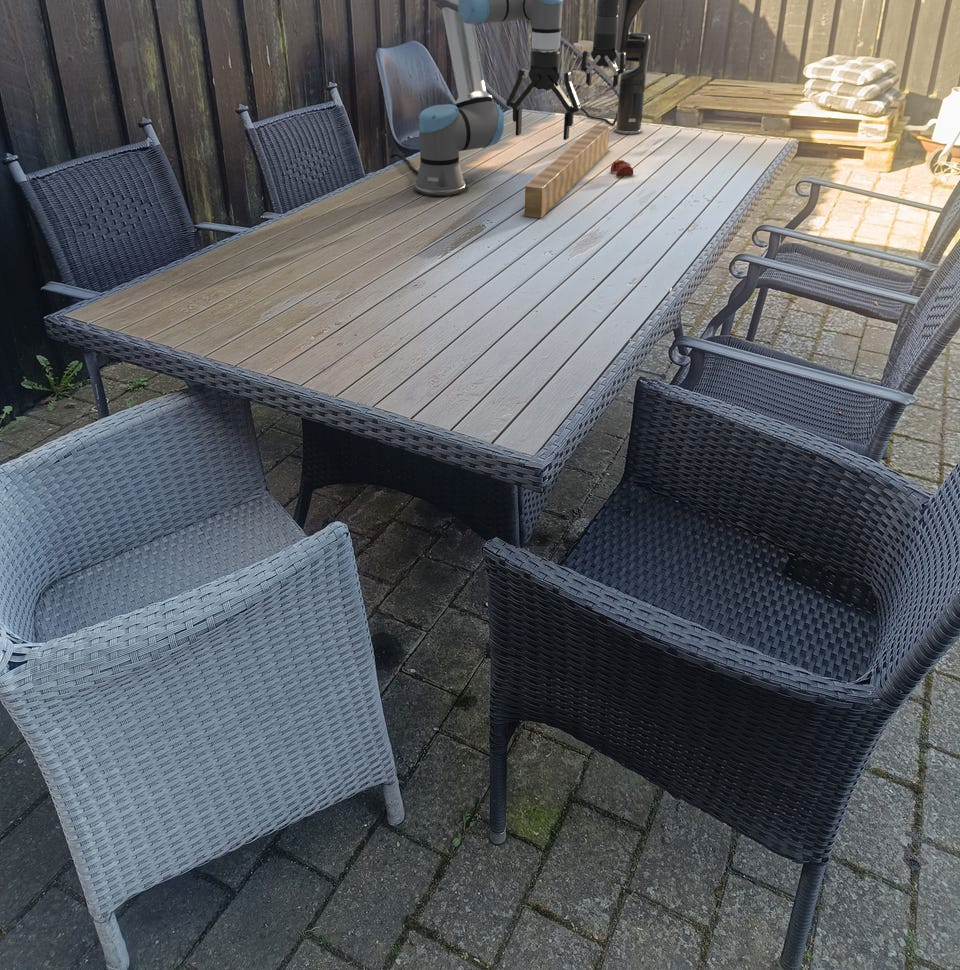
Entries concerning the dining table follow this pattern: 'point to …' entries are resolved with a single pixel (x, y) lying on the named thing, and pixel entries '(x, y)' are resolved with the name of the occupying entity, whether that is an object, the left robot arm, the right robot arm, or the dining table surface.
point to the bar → (565, 172)
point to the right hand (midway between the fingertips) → (601, 86)
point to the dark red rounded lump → (622, 168)
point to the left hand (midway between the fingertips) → (542, 136)
